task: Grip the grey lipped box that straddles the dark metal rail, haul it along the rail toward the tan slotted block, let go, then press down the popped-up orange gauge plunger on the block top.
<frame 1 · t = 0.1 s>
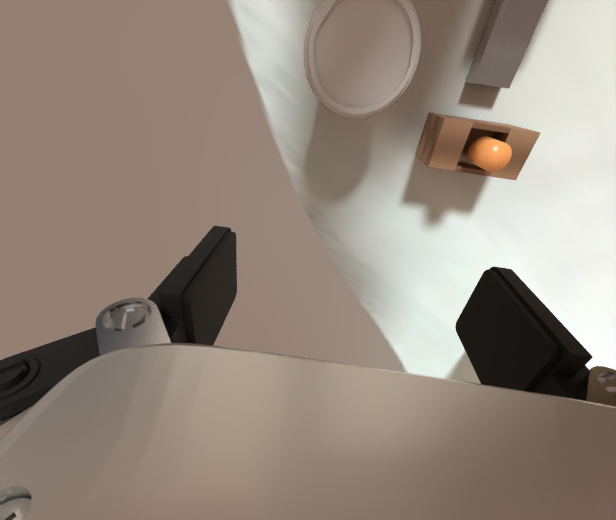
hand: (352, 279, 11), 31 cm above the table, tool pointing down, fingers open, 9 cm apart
disposable coffee cup: (354, 61, 33), on the table
gauge plunger: (488, 153, 30), point 8 cm above the table, slide at 0.0 cm
tan slotted block: (461, 140, 36), on the table
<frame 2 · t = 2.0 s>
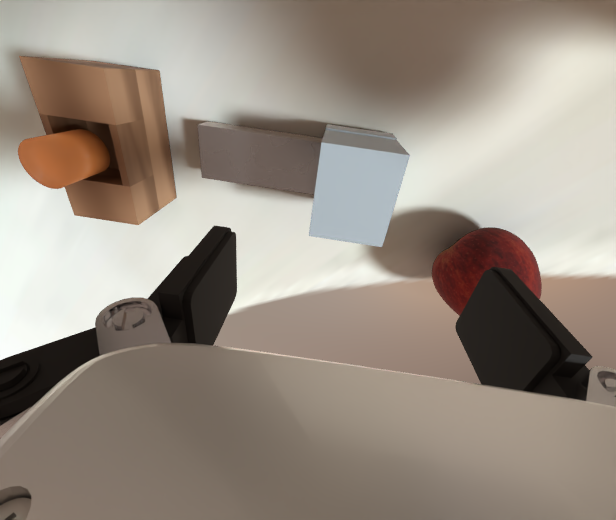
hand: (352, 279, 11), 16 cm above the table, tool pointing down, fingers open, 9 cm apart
apple: (464, 250, 27), on the table
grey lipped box: (352, 182, 21), point 4 cm above the table, slide at 0.0 cm
gauge plunger: (68, 157, 18), point 8 cm above the table, slide at 0.0 cm
rail: (303, 161, 24), on the table
tan slotted block: (140, 136, 24), on the table
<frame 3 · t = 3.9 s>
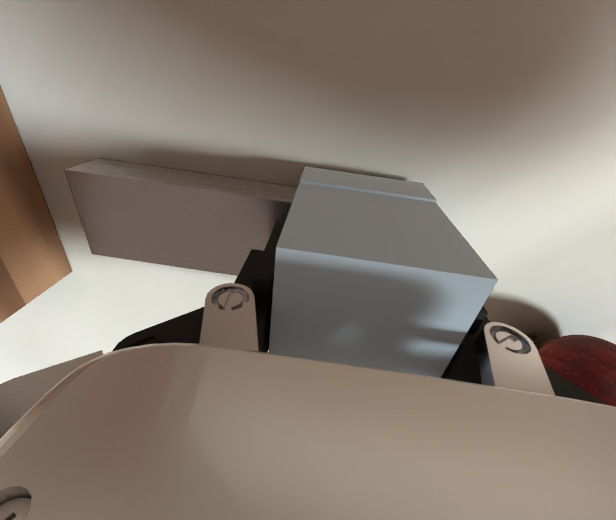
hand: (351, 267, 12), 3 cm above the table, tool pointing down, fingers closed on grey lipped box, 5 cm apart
apple: (524, 348, 18), on the table
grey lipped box: (352, 281, 11), point 4 cm above the table, slide at 0.0 cm, touching gripper
rail: (268, 222, 14), on the table
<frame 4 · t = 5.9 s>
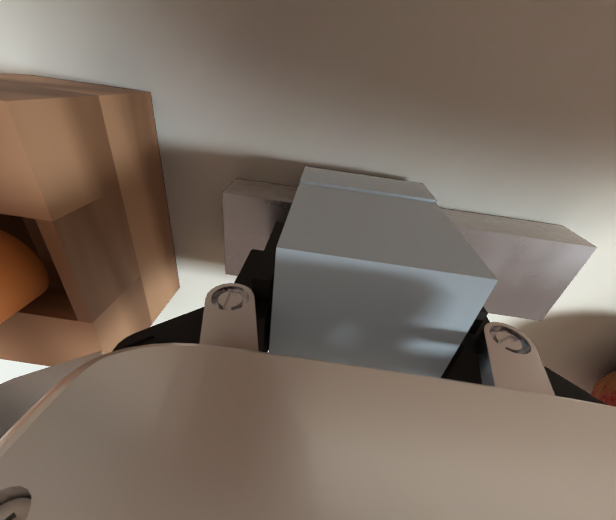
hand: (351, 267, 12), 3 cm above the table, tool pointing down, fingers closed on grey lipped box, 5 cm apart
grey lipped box: (352, 281, 11), point 4 cm above the table, slide at 6.4 cm, touching gripper
rail: (397, 241, 14), on the table
tan slotted block: (118, 200, 14), on the table
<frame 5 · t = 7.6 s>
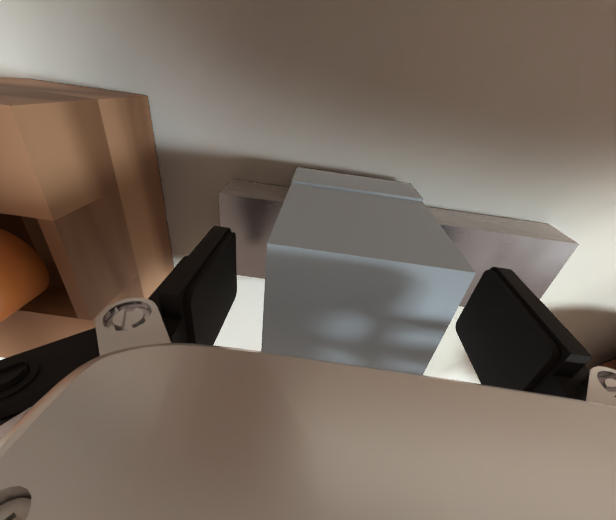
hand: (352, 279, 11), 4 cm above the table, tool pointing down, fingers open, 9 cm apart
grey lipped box: (343, 277, 11), point 4 cm above the table, slide at 6.5 cm
rail: (389, 240, 15), on the table
tan slotted block: (115, 201, 15), on the table
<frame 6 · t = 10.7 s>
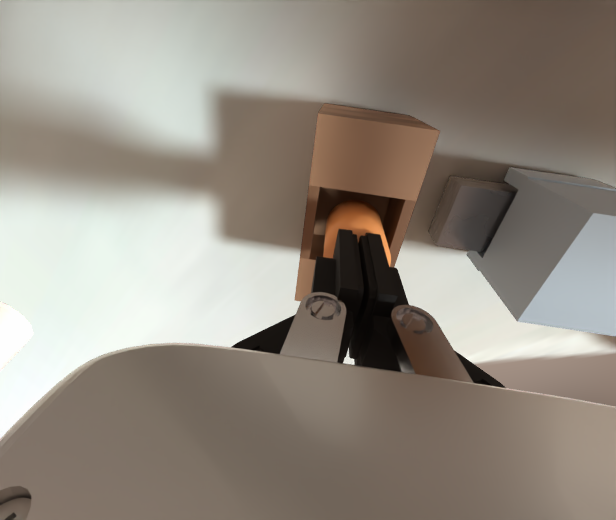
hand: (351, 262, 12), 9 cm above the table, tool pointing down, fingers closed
foam cup: (3, 319, 30), on the table
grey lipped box: (557, 245, 16), point 4 cm above the table, slide at 6.5 cm
gauge plunger: (354, 241, 13), point 7 cm above the table, slide at 0.5 cm, touching gripper
rail: (557, 222, 19), on the table
tan slotted block: (350, 192, 19), on the table
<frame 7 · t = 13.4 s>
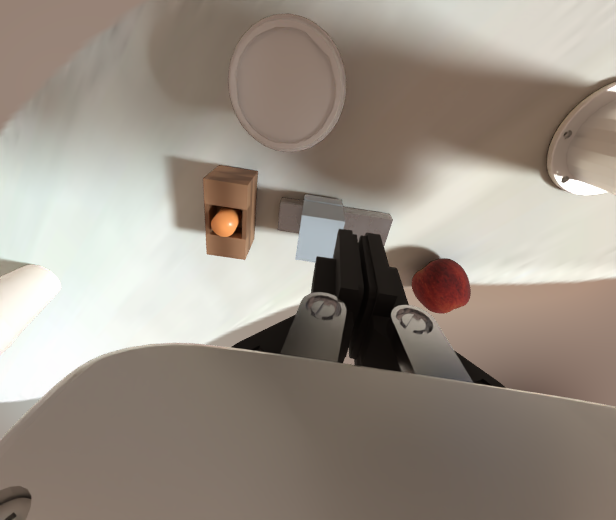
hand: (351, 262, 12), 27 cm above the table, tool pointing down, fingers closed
foam cup: (42, 279, 49), on the table
apple: (430, 269, 45), on the table
disposable coffee cup: (297, 87, 33), on the table
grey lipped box: (319, 228, 37), point 4 cm above the table, slide at 6.5 cm
gauge plunger: (227, 220, 35), point 5 cm above the table, slide at 2.1 cm
rail: (337, 219, 41), on the table
tan slotted block: (238, 204, 40), on the table
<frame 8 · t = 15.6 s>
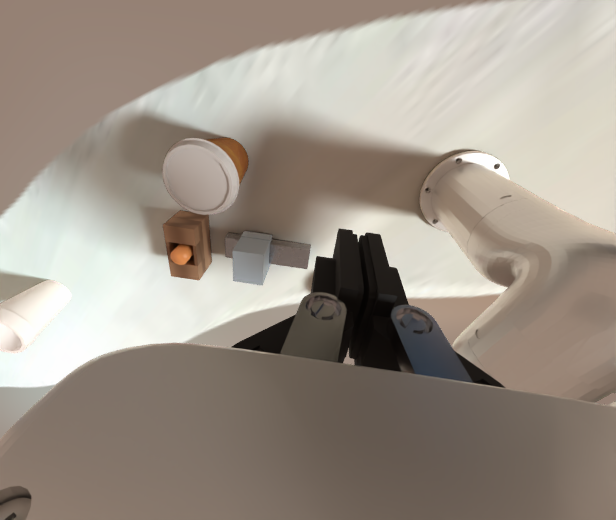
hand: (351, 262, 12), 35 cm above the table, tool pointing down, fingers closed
foam cup: (57, 290, 64), on the table
disposable coffee cup: (229, 158, 45), on the table
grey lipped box: (253, 257, 50), point 4 cm above the table, slide at 6.5 cm
gauge plunger: (183, 252, 48), point 5 cm above the table, slide at 2.1 cm
rail: (271, 248, 53), on the table
tan slotted block: (196, 237, 53), on the table
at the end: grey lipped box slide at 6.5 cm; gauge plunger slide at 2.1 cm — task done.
